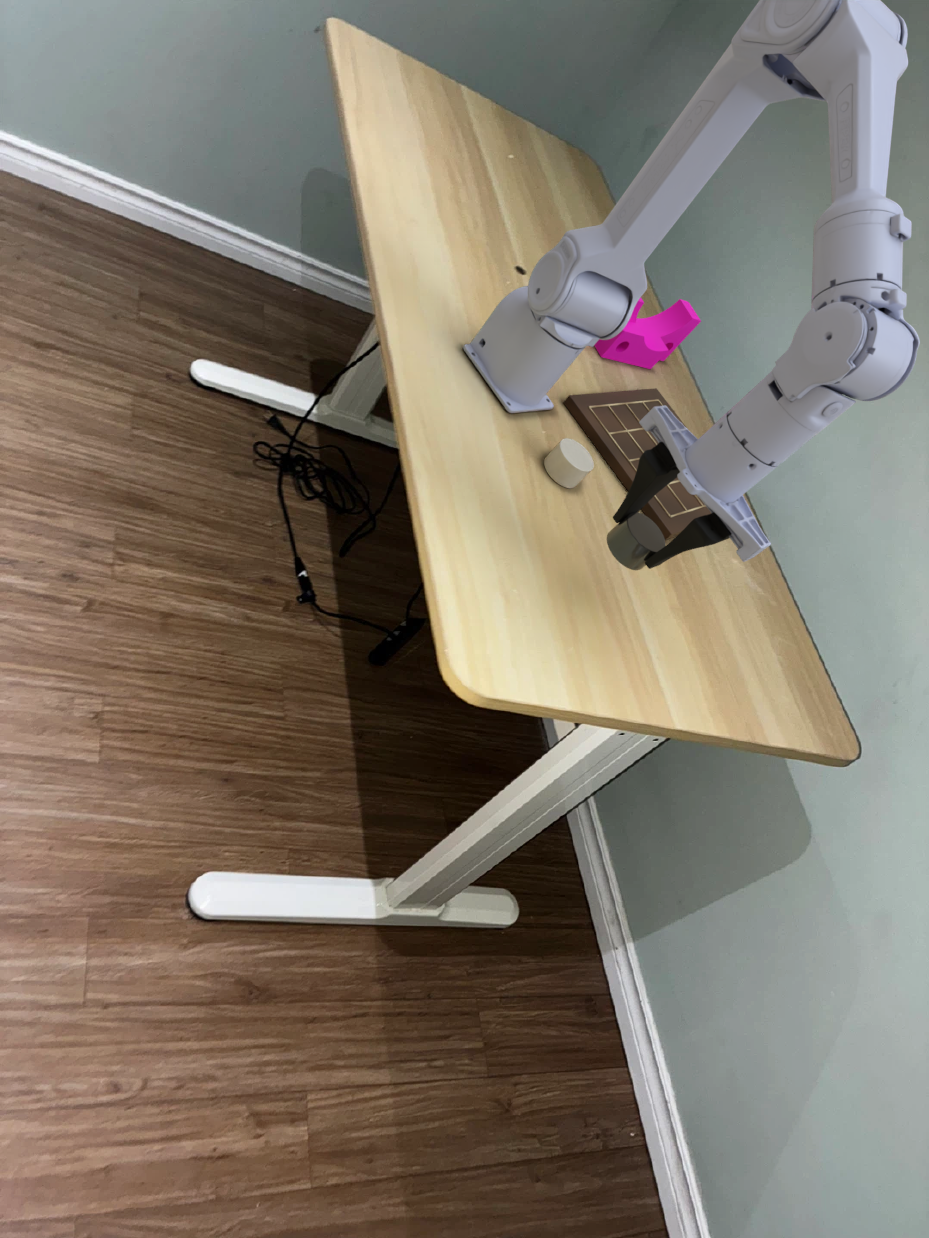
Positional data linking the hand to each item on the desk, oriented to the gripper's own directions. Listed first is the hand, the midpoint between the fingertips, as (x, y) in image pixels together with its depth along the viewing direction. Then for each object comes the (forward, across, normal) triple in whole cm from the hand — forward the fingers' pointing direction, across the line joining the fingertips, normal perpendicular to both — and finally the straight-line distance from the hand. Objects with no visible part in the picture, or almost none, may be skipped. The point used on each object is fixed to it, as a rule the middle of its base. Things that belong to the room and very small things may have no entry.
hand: (635, 540), depth 72 cm
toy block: (+8, -30, +40) cm, 51 cm away
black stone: (+1, 0, 0) cm, 1 cm away
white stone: (+8, -13, +8) cm, 17 cm away
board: (+8, -12, +27) cm, 31 cm away
